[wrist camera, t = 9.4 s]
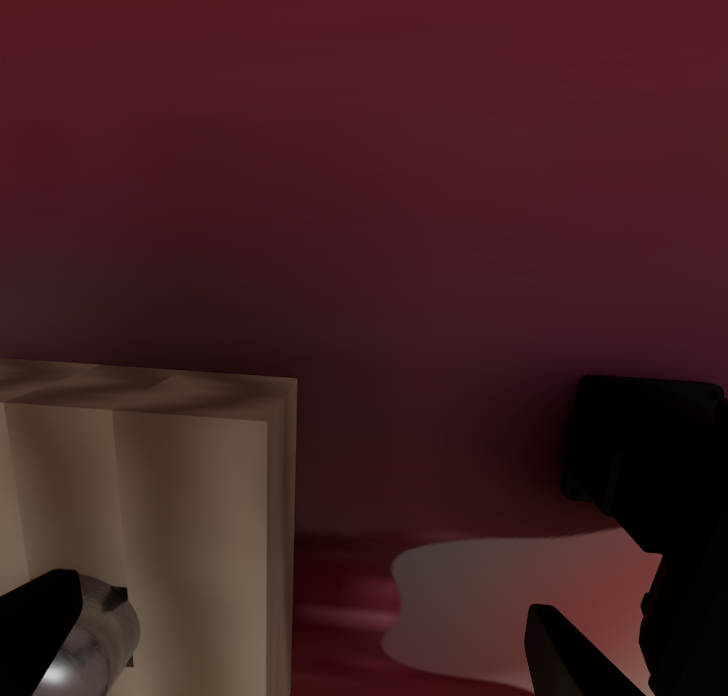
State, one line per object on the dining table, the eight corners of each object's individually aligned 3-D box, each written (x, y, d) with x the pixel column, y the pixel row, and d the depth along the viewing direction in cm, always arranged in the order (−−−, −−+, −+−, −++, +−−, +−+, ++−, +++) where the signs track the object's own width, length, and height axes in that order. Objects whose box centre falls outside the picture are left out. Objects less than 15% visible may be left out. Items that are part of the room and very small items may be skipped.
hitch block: (297, 378, 20) (267, 421, 15) (290, 691, 25) (265, 810, 20) (-11, 356, 21) (-146, 391, 16) (36, 667, 25) (-56, 777, 20)
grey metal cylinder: (191, 507, 22) (85, 646, 14) (194, 585, 23) (97, 755, 15) (100, 499, 22) (-55, 634, 14) (107, 578, 23) (-33, 742, 15)
